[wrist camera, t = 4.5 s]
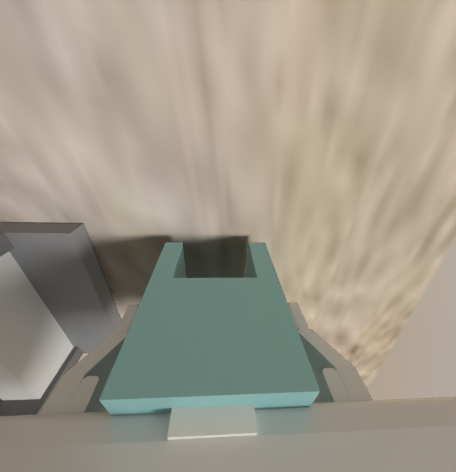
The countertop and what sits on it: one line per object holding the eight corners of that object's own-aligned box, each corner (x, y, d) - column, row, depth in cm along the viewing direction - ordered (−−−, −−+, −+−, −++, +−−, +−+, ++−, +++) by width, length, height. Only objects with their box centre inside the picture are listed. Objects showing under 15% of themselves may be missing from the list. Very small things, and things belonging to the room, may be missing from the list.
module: (165, 242, 11) (85, 431, 5) (264, 242, 12) (331, 420, 5) (175, 303, 14) (136, 476, 7) (255, 302, 15) (288, 466, 8)
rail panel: (-97, 221, 11) (-341, 297, 6) (83, 223, 12) (-14, 296, 7) (14, 340, 17) (-65, 426, 12) (128, 339, 18) (95, 420, 13)
